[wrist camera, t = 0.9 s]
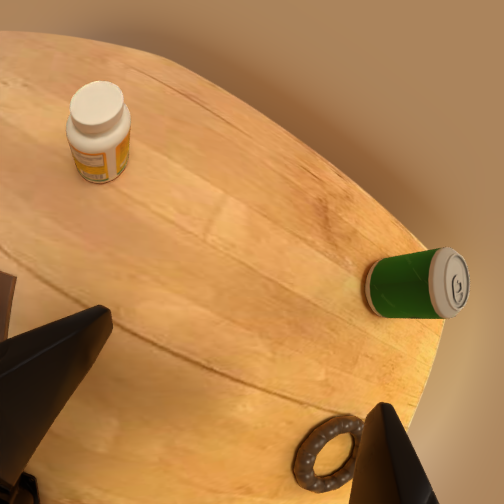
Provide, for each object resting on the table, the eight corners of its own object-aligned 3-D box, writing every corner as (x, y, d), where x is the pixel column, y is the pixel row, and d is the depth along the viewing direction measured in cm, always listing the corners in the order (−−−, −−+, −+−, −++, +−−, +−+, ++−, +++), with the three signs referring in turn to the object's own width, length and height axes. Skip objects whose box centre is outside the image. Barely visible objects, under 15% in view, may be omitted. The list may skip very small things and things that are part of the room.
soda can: (365, 325, 34) (446, 328, 23) (355, 265, 35) (436, 251, 24) (401, 308, 37) (475, 306, 26) (393, 255, 38) (467, 240, 27)
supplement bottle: (88, 194, 24) (71, 147, 16) (69, 150, 24) (51, 92, 15) (137, 168, 27) (144, 113, 18) (116, 127, 26) (117, 64, 17)
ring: (351, 479, 31) (360, 485, 29) (282, 493, 27) (291, 501, 25) (371, 411, 33) (383, 415, 31) (303, 416, 29) (313, 422, 27)
